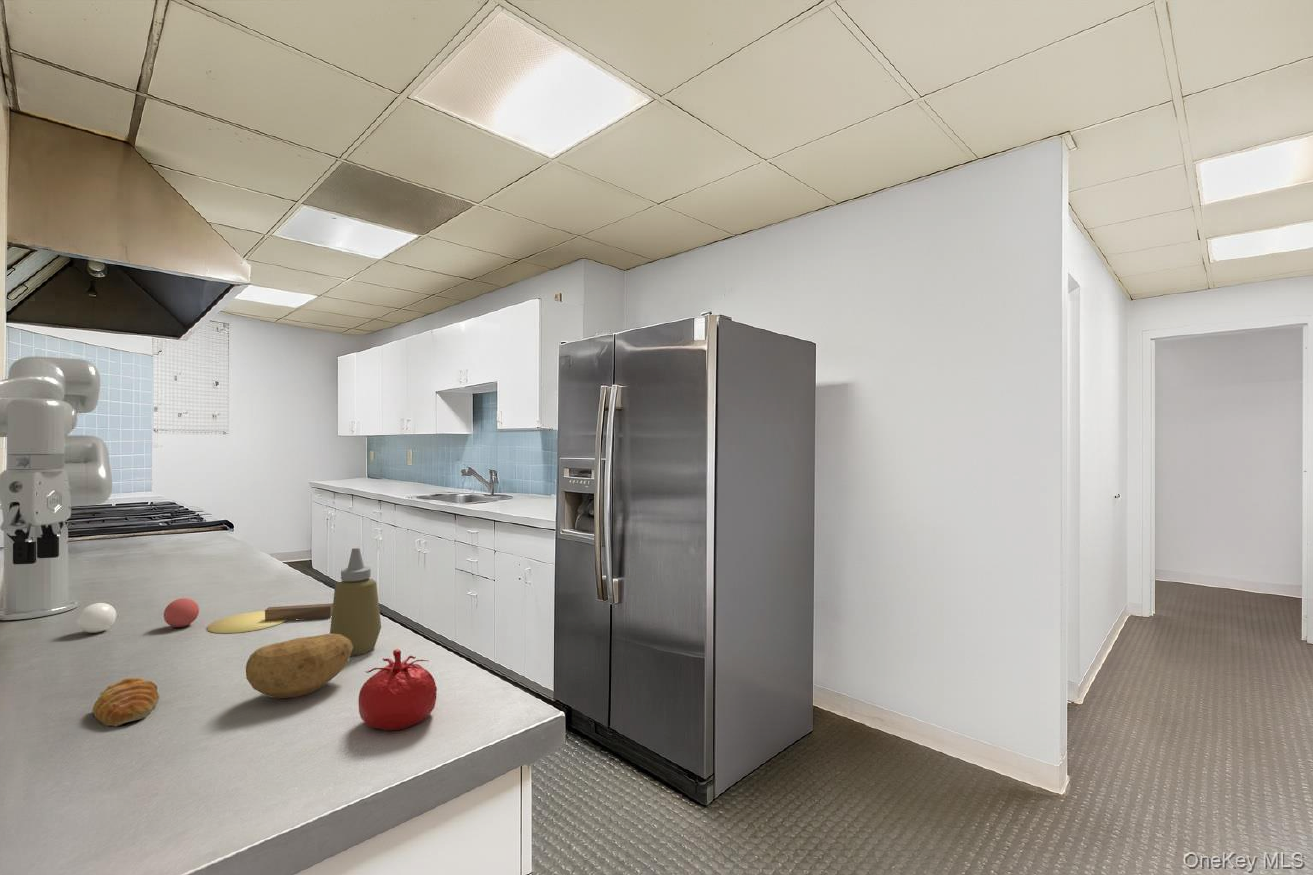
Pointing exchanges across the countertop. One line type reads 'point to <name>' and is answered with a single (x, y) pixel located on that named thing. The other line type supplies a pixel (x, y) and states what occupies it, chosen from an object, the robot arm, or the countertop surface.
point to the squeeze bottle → (356, 606)
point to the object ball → (181, 612)
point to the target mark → (242, 623)
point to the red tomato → (397, 695)
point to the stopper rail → (299, 612)
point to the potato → (297, 665)
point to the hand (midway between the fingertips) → (36, 559)
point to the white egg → (96, 617)
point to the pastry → (126, 701)
